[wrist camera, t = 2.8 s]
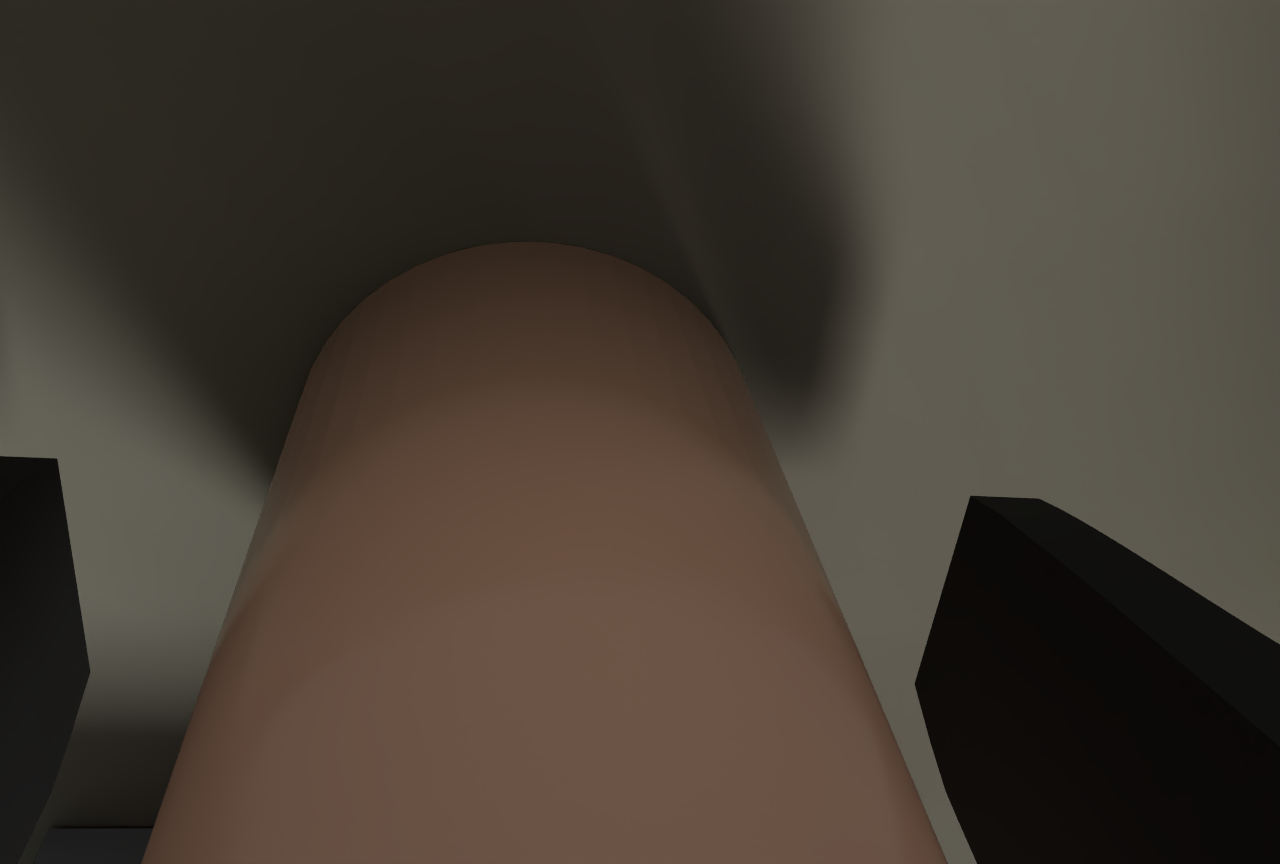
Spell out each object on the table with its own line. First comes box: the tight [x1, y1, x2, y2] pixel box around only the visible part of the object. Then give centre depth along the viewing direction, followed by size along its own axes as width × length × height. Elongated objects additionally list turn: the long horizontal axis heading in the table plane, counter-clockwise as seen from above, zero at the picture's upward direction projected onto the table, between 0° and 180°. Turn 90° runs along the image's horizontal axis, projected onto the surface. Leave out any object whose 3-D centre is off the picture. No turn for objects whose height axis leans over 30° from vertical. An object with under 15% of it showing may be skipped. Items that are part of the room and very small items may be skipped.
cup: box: [141, 242, 948, 864], centre depth 8 cm, size 4×4×7 cm
